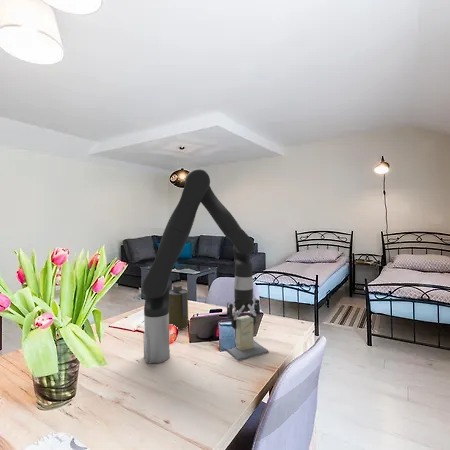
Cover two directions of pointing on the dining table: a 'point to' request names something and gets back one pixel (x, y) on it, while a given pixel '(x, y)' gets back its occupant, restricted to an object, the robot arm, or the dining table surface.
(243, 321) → the skincare box
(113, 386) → the dining table surface
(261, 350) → the mat
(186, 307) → the canister
